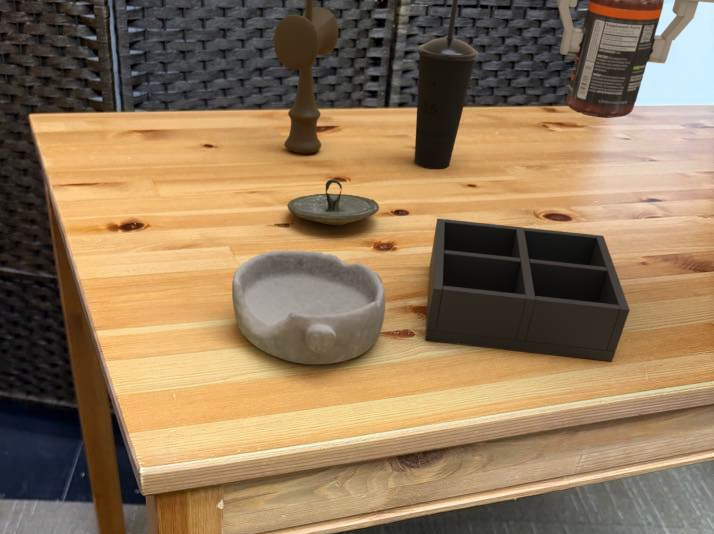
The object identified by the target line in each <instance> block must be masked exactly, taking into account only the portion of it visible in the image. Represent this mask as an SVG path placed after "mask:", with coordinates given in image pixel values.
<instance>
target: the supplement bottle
mask: <svg viewBox="0 0 714 534" xmlns="http://www.w3.org/2000/svg"><path fill="white" fill-rule="evenodd" d="M664 3H665V0H588V5H587V10H586V13H585V16H584V22H583V26H582V28H581V29H582V31H583V32H584V35H583V40H582V42H581V43H580V44H579V45H580V52H579V55H578V56H577V55H575V61H574V63H573V68H572V73H571V77H570V81H569V84H568V89H567V94H566V99H565V100H566V105H567V106H568V108H569V109H570V110H572V111H574V112H576V113H578V114H582V115H584V116H588V117H593V118H601V119H613V118H622V117H626V116H628V115H629V114H631V113H632V112H633V110H634V108H635V104H636V102H637V100H638V95H639V92H640V88H641V86H642V81H643V79H644V75H645V71H646V67H647V64H648V62H647V61H648V57H649V54H650V50H651V47H652V43H653V40H654V36H655V35H656V33H657V29H658V26H659V23H660V18H661V15H662V12H663V9H664Z"/></svg>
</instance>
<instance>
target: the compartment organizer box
mask: <svg viewBox="0 0 714 534" xmlns="http://www.w3.org/2000/svg"><path fill="white" fill-rule="evenodd" d="M430 254H431V255H430V262H429V270H428V271H429V272H428V286H427V287H428V289H427V304H426V319H425V320H426V321H425V334H424V335H425V337H424V340H425V341H428V342H429V341H430V342H437V343H446V344H456V345H463V346H471V347H472V346H473V347H481V348H490V349H499V350H506V351H515V350H516V351H517V352H525V353H534V354H543V355H551V356H560V357H561V356H562V357H569V358H577V359H586V360H587V359H588V360H595V361H604V362H613V360H614V357H615V355H616V351H617V348H618V345H619V343H620V339H621V337H622V334H623V332H624V331H623V330H624V328H625V325H626V322H627V319H628V316H629V313H630V307H629V304H628V301H627V299H626V296H625V293H624V290H623V286H622V284H621V282H620V279H619V276H618V273H617V271H616V270H617V269H616V268H615V265H614V262H613V259H612V256H611V254H610V250H609V248H608V245H607V242H606V239H605V237H604V235H602V234H601V235H600V234H590V233H583V232H581V233H580V232H573V231H572V232H569V231H563V230H562V231H561V230H552V229H543V228H532V227H524V226H516V225H515V226H514V225H505V224H495V223H486V222H485V223H484V222H475V221H467V220H458V219H457V220H456V219H447V218H445V219H444V218H436V222H435V230H434V236H433V242H432V249H431V253H430ZM516 351H515V352H516Z"/></svg>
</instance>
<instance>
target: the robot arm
mask: <svg viewBox="0 0 714 534" xmlns="http://www.w3.org/2000/svg"><path fill="white" fill-rule="evenodd" d="M578 1H579V0H557V1H556V4H557V7H558V12H559V15H560V20H561V23H562V27H563V33H562V38H561V41H560V48H559V52H560V55H565V56H576V55H577V56H578V55H579V52H580V45H579V44H580V43H581V42H582V40H583V35H584V32H583V31H582V29H583V28H576V27H575V26H574V23H573V19H572V14H571V11H570V8H576V7H577V5H578ZM699 3H713V4H714V0H674V2H673V6H672V12H673V13H674V14H675V17H674V18H673V19H672V20H671V22H670V23H669V24H668V25H667V26H666V28H665V29H664V30H663V32H662V33H661V34H660V35H658V34H655V36H654V40H653V43H652V47H651V50H650V54H649V57H648V61H647V63H654V64H655V63H656V64H666V62H667V59H668V56H669V53H670V49H671V46H672V43H673V41H675V40H676V39H677V37H678V36H680V34H681V33H682V32H683V31H684V30H685V28H686V27H687V26H688V25H689V24H690V23H691V22H692V20H693V19H694V18H695V15H696V12H697V8H698V5H699Z"/></svg>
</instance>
